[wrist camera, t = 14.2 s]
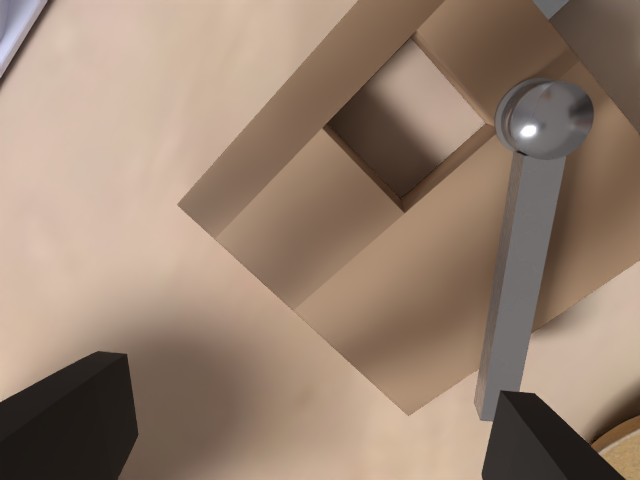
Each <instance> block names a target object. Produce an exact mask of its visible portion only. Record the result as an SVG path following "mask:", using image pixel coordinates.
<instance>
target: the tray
mask: <svg viewBox="0 0 640 480" xmlns="http://www.w3.org/2000/svg"><path fill="white" fill-rule="evenodd" d="M568 1H569V0H533V2H534V3H535V4H536V5H537V7H538V8H539V9H540V10H541V12H542V13H543V14H544V15H545V17H546V18H547V19H548V20H549V19H550V18H551V17H552V16H553V15H554V14H555V13H556V12H558V11H559V10H560V9H561V8H562V7H563V6H564V5H565V4H566V3H567V2H568Z"/></svg>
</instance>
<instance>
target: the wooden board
mask: <svg viewBox="0 0 640 480" xmlns="http://www.w3.org/2000/svg"><path fill="white" fill-rule="evenodd" d="M410 37H411V38H412V39H413V41H414V42H415V43H416V44H417V45H418V46H419V47H420V49H421V50H422V51H423V52H424V53H425V54H426V55H427V57H428V58H429V59H430V60H431V61H432V62H433V63H434V64H435V66H436V67H437V68H438V69H439V70H440V71H441V72H442V74H443V75H444V76H445V77H446V78H447V79H448V80H449V82H450V83H451V84H452V85H453V86H454V87H455V88H456V90H457V91H458V92H459V93H460V94H461V95H462V96H463V98H464V99H465V100H466V101H467V102H468V103H469V104H470V106H471V107H472V108H473V109H474V110H475V111H476V112H477V114H478V115H479V116H480V117H481V118H482V119H483V120H484V122H485V123H486V124H485V125H484V126H483V127H482V128H480V129H479V130H478V131H477V132H476V133H475V134H474V135H473V136H471V137H470V138H469V139H468V140H467V141H466V142H465V143H464V144H462V145H461V146H460V147H459V148H458V149H457V150H456V151H455V152H453V153H452V154H451V155H450V156H449V157H448V158H447V159H446V160H444V161H443V162H442V163H441V164H440V165H439V166H438V167H437V168H435V169H434V170H433V171H432V172H431V173H430V174H429V175H428V176H426V177H425V178H424V179H423V180H422V181H421V182H420V183H419V184H417V185H416V186H415V187H414V188H413V189H412V190H411V191H410V192H408V193H407V194H406V195H405V196H404V197H403V198H402V199H400V198H399V197H398V196H397V195H396V194H395V193H394V192H393V191H392V190H391V189H390V188H389V187H388V186H387V185H386V184H385V183H384V182H383V181H382V180H381V179H380V178H379V176H378V175H377V174H376V173H375V172H374V171H373V170H372V169H371V168H370V167H369V166H368V165H367V164H366V163H365V162H364V161H363V160H362V159H361V158H360V157H359V156H358V155H357V154H356V153H355V152H354V151H353V149H352V148H351V147H350V146H349V145H348V144H347V143H346V142H345V141H344V140H343V139H342V138H341V137H340V136H339V135H338V134H337V133H336V132H335V131H334V130H333V129H332V128H331V127H330V126H329V125H328V124H327V123H328V122H329V121H330V120H331V118H332V117H333V116H334V115H335V114H336V113H337V112H338V111H339V110H340V109H341V108H342V107H343V106H344V105H345V104H346V103H347V102H348V101H349V100H350V99H351V98H352V97H353V96H354V95H355V94H356V93H357V92H358V91H359V90H360V88H361V87H362V86H363V85H364V84H365V83H366V82H367V81H368V80H369V79H370V78H371V77H372V76H373V75H374V74H375V73H376V72H377V71H378V70H379V69H380V68H381V67H382V66H383V65H384V64H385V63H386V62H387V61H388V59H389V58H390V57H391V56H392V55H393V54H394V53H395V52H396V51H397V50H398V49H399V48H400V47H401V46H402V45H403V44H404V43H405V42H406V41H407V40H408V39H409V38H410ZM541 81H565V82H570V83H573V84H576V85H578V86H579V87H581V88H582V89H583V90H584V91H585V92H586V93H587V94H588V95H589V97H590V99H591V101H592V104H593V108H594V120H593V125H592V128H591V130H590V133H589V134H588V136H587V138H586V139H585V141H584V142H583V143H582V144H581V145H580V146H579V147H578V148H577V149H576V150H574V151H573V152H571V153H570V154H568V155H566V160H565V165H564V170H563V175H562V180H561V185H560V190H559V195H558V200H557V205H556V210H555V215H554V220H553V225H552V230H551V235H550V240H549V245H548V250H547V255H546V260H545V265H544V270H543V275H542V280H541V285H540V290H539V295H538V300H537V305H536V310H535V315H534V320H533V325H532V330H531V333H533V332H534V331H535V330H537V329H538V328H540V327H541V326H543V325H544V324H546V323H547V322H549V321H550V320H552V319H553V318H555V317H556V316H558V315H559V314H561V313H562V312H564V311H565V310H567V309H568V308H570V307H571V306H573V305H574V304H576V303H577V302H578V301H580V300H581V299H583V298H584V297H586V296H587V295H589V294H590V293H592V292H593V291H595V290H596V289H598V288H599V287H601V286H602V285H604V284H605V283H607V282H608V281H610V280H611V279H613V278H614V277H616V276H617V275H619V274H620V273H621V272H623V271H624V270H626V269H627V268H629V267H630V266H632V265H633V264H635V263H636V262H638V261H639V260H640V135H639V133H638V132H637V131H636V130H635V128H634V127H633V126H632V125H631V123H630V122H629V121H628V120H627V118H626V117H625V116H624V114H623V113H622V112H621V111H620V109H619V108H618V107H617V106H616V104H615V103H614V102H613V101H612V99H611V98H610V97H609V96H608V94H607V93H606V92H605V91H604V89H603V88H602V87H601V86H600V84H599V83H598V82H597V81H596V79H595V78H594V77H593V76H592V74H591V73H590V72H589V71H588V69H587V68H586V67H585V66H584V64H583V63H582V62H581V61H580V59H579V58H578V57H577V55H576V54H575V53H574V52H573V50H572V49H571V48H570V47H569V45H568V44H567V43H566V42H565V40H564V39H563V38H562V37H561V35H560V34H559V33H558V32H557V30H556V29H555V28H554V27H553V25H552V24H551V23H550V22H549V20H548V19H547V18H546V17H545V15H544V14H543V13H542V12H541V10H540V9H539V8H538V7H537V5H536V4H535V3H534V2H533V0H358V1H357V3H356V4H355V5H354V6H353V7H352V8H351V9H350V10H349V12H348V13H347V14H346V15H345V16H344V17H343V18H342V19H341V21H340V22H339V23H338V24H337V25H336V26H335V27H334V28H333V30H332V31H331V32H330V33H329V34H328V35H327V36H326V37H325V39H324V40H323V41H322V42H321V43H320V44H319V45H318V46H317V48H316V49H315V50H314V51H313V52H312V53H311V54H310V55H309V57H308V58H307V59H306V60H305V61H304V62H303V63H302V64H301V66H300V67H299V68H298V69H297V70H296V71H295V72H294V73H293V75H292V76H291V77H290V78H289V79H288V80H287V81H286V82H285V84H284V85H283V86H282V87H281V88H280V89H279V90H278V91H277V93H276V94H275V95H274V96H273V97H272V98H271V99H270V101H269V102H268V103H267V104H266V105H265V106H264V107H263V108H262V110H261V111H260V112H259V113H258V114H257V115H256V116H255V117H254V119H253V120H252V121H251V122H250V123H249V124H248V125H247V126H246V128H245V129H244V130H243V131H242V132H241V133H240V134H239V135H238V137H237V138H236V139H235V140H234V141H233V142H232V143H231V144H230V146H229V147H228V148H227V149H226V150H225V151H224V152H223V153H222V155H221V156H220V157H219V158H218V159H217V160H216V161H215V162H214V164H213V165H212V166H211V167H210V168H209V169H208V170H207V171H206V173H205V174H204V175H203V176H202V177H201V178H200V179H199V180H198V182H197V183H196V184H195V185H194V186H193V187H192V188H191V189H190V191H189V192H188V193H187V194H186V195H185V196H184V197H183V198H182V200H181V201H180V202H179V203H178V204H177V205H178V206H179V207H180V208H181V209H182V210H183V211H184V212H185V213H187V214H188V215H189V216H190V217H191V218H192V219H193V220H194V221H195V222H196V223H197V224H199V225H200V226H201V227H202V228H203V229H204V230H205V231H206V232H207V233H208V234H210V235H211V236H212V237H213V238H214V239H215V240H216V241H217V242H218V243H219V244H220V245H222V246H223V247H224V248H225V249H226V250H227V251H228V252H229V253H230V254H231V255H233V256H234V257H235V258H236V259H237V260H238V261H239V262H240V263H241V264H242V265H243V266H245V267H246V268H247V269H248V270H249V271H250V272H251V273H252V274H253V275H254V276H256V277H257V278H258V279H259V280H260V281H261V282H262V283H263V284H264V285H265V286H266V287H268V288H269V289H270V290H271V291H272V292H273V293H274V294H275V295H276V296H277V297H279V298H280V299H281V300H282V301H283V302H284V303H285V304H286V305H287V306H288V307H289V308H291V309H292V310H293V311H294V312H295V313H296V314H297V315H298V316H299V317H300V318H301V319H303V320H304V321H305V322H306V323H307V324H308V325H309V326H310V327H311V328H312V329H314V330H315V331H316V332H317V333H318V334H319V335H320V336H321V337H322V338H323V339H324V340H326V341H327V342H328V343H329V344H330V345H331V346H332V347H333V348H334V349H335V350H337V351H338V352H339V353H340V354H341V355H342V356H343V357H344V358H345V359H346V360H347V361H349V362H350V363H351V364H352V365H353V366H354V367H355V368H356V369H357V370H358V371H360V372H361V373H362V374H363V375H364V376H365V377H366V378H367V379H368V380H369V381H370V382H372V383H373V384H374V385H375V386H376V387H377V388H378V389H379V390H380V391H381V392H383V393H384V394H385V395H386V396H387V397H388V398H389V399H390V400H391V401H392V402H393V403H395V404H396V405H397V406H398V407H399V408H400V409H401V410H402V411H403V412H404V413H405V414H407V415H408V416H409V415H411V414H412V413H414V412H415V411H417V410H418V409H420V408H421V407H423V406H424V405H426V404H427V403H429V402H430V401H432V400H433V399H435V398H436V397H438V396H439V395H441V394H442V393H444V392H445V391H447V390H448V389H449V388H451V387H452V386H454V385H455V384H457V383H458V382H460V381H461V380H463V379H464V378H466V377H467V376H469V375H470V374H472V373H473V372H475V371H476V370H478V369H479V367H480V361H481V355H482V348H483V342H484V336H485V329H486V323H487V317H488V310H489V304H490V298H491V291H492V285H493V279H494V272H495V266H496V260H497V253H498V247H499V241H500V234H501V228H502V221H503V215H504V209H505V202H506V196H507V190H508V183H509V177H510V171H511V164H512V158H513V152H514V151H517V150H516V149H514V148H513V147H511V146H510V145H509V144H508V143H507V141H506V140H505V138H504V136H503V133H502V129H501V117H502V113H503V110H504V108H505V105H506V104H507V102H508V100H509V99H510V98H511V97H512V96H513V95H514V94H515V93H516V92H517V91H518V90H519V89H521V88H523V87H524V86H526V85H528V84H531V83H534V82H541Z"/></svg>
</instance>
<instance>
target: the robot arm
mask: <svg viewBox="0 0 640 480" xmlns="http://www.w3.org/2000/svg"><path fill="white" fill-rule="evenodd" d="M47 1H48V0H0V78H1V76H2V74H3V73H4V71H5V70H6V68H7V66H8V65H9V63H10V61H11V60H12V58H13V56H14V55H15V53H16V52H17V50H18V48H19V47H20V45H21V43H22V42H23V40H24V38H25V37H26V35H27V34H28V32H29V30H30V29H31V27H32V25H33V24H34V22H35V20H36V19H37V17H38V16H39V14H40V12H41V11H42V9H43V7H44V6H45V4H46V2H47ZM137 437H138V428H137V421H136V414H135V407H134V400H133V393H132V386H131V379H130V372H129V365H128V358H127V354H121V353H111V352H101V351H98V352H95V353H93V354H91V355H89V356H87V357H85V358H82V359H80V360H78V361H77V362H75V363H73V364H71V365H69V366H67V367H65V368H63V369H61V370H59V371H57V372H56V373H54V374H52V375H50V376H48V377H46V378H44V379H43V380H41V381H39V382H37V383H35V384H33V385H32V386H30V387H28V388H26V389H24V390H22V391H20V392H19V393H17V394H15V395H13V396H11V397H9V398H7V399H6V400H4V401H2V402H0V480H117V479H118V477H119V475H120V473H121V471H122V469H123V467H124V465H125V463H126V461H127V458H128V456H129V454H130V452H131V450H132V448H133V446H134V443H135V441H136V439H137ZM482 478H483V480H626V479H625V478H624V477H623V476H622V475H621V474H620V473H619V472H617V471H616V470H615V469H614V468H613V467H612V466H611V465H610V464H609V463H608V462H607V461H606V460H605V459H604V458H603V457H602V456H600V455H599V454H598V453H597V452H596V451H595V450H594V449H593V448H592V447H591V446H590V445H589V444H588V443H587V442H586V441H585V440H584V439H583V438H582V437H581V436H580V435H578V434H577V433H576V432H575V431H574V430H573V429H572V428H571V427H570V426H569V425H568V424H567V423H566V422H565V421H564V420H563V419H562V418H561V417H560V416H559V415H558V414H557V413H555V412H554V411H553V410H552V409H551V408H550V407H549V406H548V405H547V404H546V403H545V402H544V401H543V400H541V399H540V398H539V397H538V396H537V395H536V394H535V393H525V392H515V391H504V390H500V394H499V398H498V402H497V407H496V411H495V416H494V420H493V425H492V429H491V434H490V438H489V443H488V447H487V452H486V456H485V461H484V465H483V470H482Z"/></svg>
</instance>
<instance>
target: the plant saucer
mask: <svg viewBox="0 0 640 480" xmlns="http://www.w3.org/2000/svg"><path fill="white" fill-rule="evenodd" d="M591 447H592V448H593V449H594V450H595V451H596V452H597V453H598V454H599V455H600V456H602V457H603V458H604V459H605V460H606V461H607V462H608V463H609V464H610V465H611V466H612V467H613V468H614V469H615V470H616V471H617V472H619V473H620V474H621V475H622V476H623V477H624V478H625V479H626V480H640V415H638V416H636V417H634V418H631V419H629V420H627V421H625V422H623V423H621V424H619V425H618V426H616V427H614V428H613V429H611V430H610V431H608V432H607V433H605V434H604V435H602V436H601V437H600V438H599V439H597V440H596V441H595V442H594V443H593V444H592V445H591Z"/></svg>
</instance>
